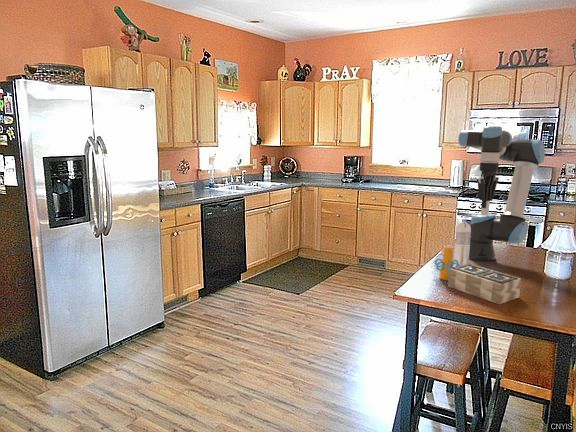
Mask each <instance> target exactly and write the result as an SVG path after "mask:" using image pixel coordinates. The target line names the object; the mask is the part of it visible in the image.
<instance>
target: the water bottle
mask: <svg viewBox="0 0 576 432" xmlns="http://www.w3.org/2000/svg"><path fill="white" fill-rule="evenodd" d="M455 230H456V231H455V241H454V249H453V260H457V261H458V263H459V264H460V266H461V265H464V264H470V263H469V262H470V261H469V260H470V259H469V253H470V252H469V251H470V238H471V230H472V229H471V226H470V223H468V222H467V218H463V219H462V221H461V222H460V223H458V224H457V226H456V229H455ZM454 262H456V261H454ZM455 266H456V264H454V265H453V267H455Z"/></svg>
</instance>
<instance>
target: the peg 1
mask: <svg viewBox="0 0 576 432" xmlns="http://www.w3.org/2000/svg"><path fill="white" fill-rule="evenodd" d="M466 270H467V271H471V272H476V270H477V268H475V267H467V269H466Z"/></svg>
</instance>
